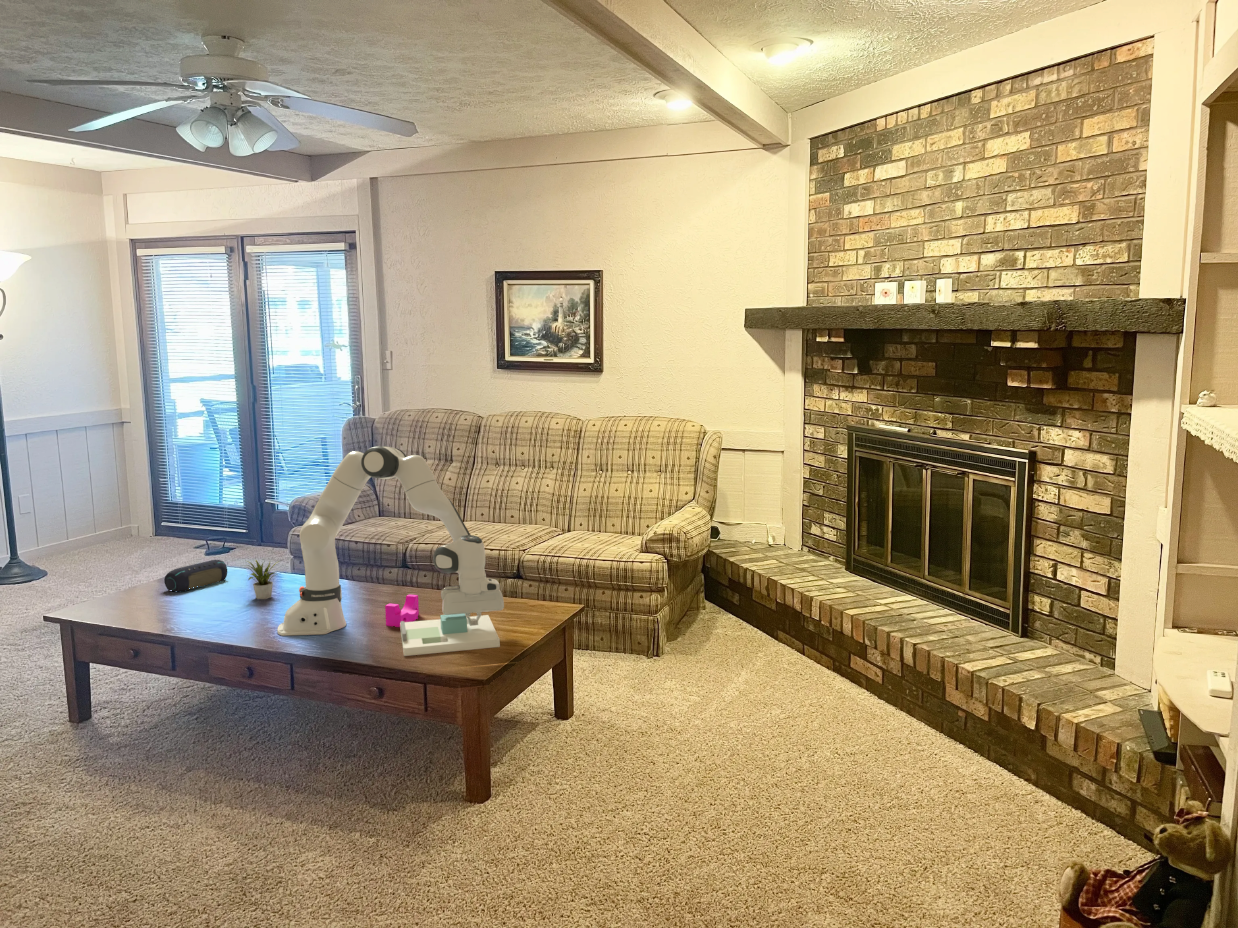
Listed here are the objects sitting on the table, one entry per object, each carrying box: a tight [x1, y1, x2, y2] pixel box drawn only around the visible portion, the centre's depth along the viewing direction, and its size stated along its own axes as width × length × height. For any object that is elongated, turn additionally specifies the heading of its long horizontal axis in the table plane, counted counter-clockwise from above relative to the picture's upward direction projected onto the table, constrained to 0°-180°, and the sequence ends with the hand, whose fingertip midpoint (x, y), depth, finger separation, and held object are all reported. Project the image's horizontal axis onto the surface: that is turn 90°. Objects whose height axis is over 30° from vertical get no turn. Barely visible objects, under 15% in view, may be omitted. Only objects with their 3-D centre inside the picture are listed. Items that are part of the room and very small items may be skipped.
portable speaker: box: [163, 559, 228, 592], centre depth 374 cm, size 25×10×10 cm, turn 151°
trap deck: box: [399, 614, 501, 657], centre depth 306 cm, size 30×28×5 cm
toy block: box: [384, 593, 420, 628], centre depth 326 cm, size 15×6×8 cm, turn 160°
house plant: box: [242, 558, 280, 600], centre depth 355 cm, size 14×14×16 cm
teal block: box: [439, 613, 467, 634], centre depth 306 cm, size 8×7×4 cm
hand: (473, 625), depth 308 cm, fingers closed
